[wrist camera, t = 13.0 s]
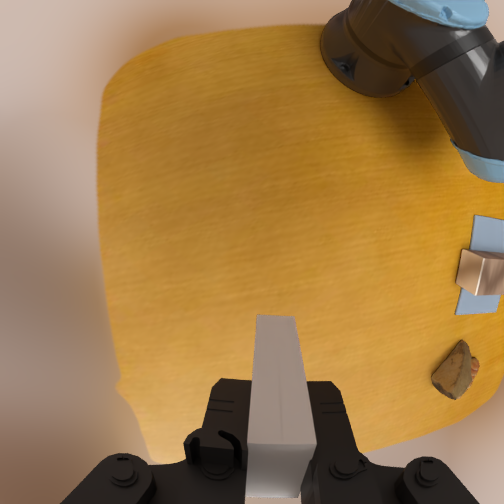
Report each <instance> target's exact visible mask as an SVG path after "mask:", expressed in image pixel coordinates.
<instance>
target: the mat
mask: <svg viewBox="0 0 504 504" xmlns="http://www.w3.org/2000/svg"><path fill="white" fill-rule="evenodd" d="M469 250H477V251H488V252H499V253H504V220H500V219H495V218H489V217H484V216H478V215H474V220H473V228H472V235H471V242H470V248H469ZM500 296H501V295H480V296H475V295H473V294H472V293H470V292H469V291H467V290H465V289H464V288H461V292H460V296H459V300H458V304H457V308H456V311H455V315H462V314H477V313H490V312H496V310H497V307H498V303H499V300H500Z"/></svg>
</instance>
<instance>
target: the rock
mask: <svg viewBox="0 0 504 504" xmlns="http://www.w3.org/2000/svg"><path fill="white" fill-rule="evenodd" d="M431 378H432V383H433V385H434V386H435V388H436V389H437V390H438V391H439V392H440V393H442V394H444V395H445V396H447V397H448V398H451V399H454V400H456V399H457V398H458V397H460V396H461V395H462V394H464V393H465V391H466V390H467V388H468V387H469V384H470V383H471V382H472V376H471V353H470V350H469V346H468V345H467V343H466V342H464V341H463V340H461V341H460V342H459V343H458V345H457V346H456V347H455V349H454V350H453V351H452V352H451V354H450V355H449V356H448V357H447V359H446V360H445V361H444V362H443V363H442V364H441V365H440V367H439V368H438V369H437V371H436V372H435V373H434V374H433V375H432V377H431Z"/></svg>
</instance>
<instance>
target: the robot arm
mask: <svg viewBox="0 0 504 504" xmlns="http://www.w3.org/2000/svg"><path fill="white" fill-rule="evenodd" d="M488 10H489V9H488V5H487V4H486V3H485V2H484V0H352V1H351V3H350V5H349V7H348V8H347V9H345V10H344V11H342V12H340V13H338V14H336V15H335V16H333V17H332V18H331V19H330V20H329V21H328V23H327V24H326V26H325V28H324V31H323V33H322V36H321V52H322V56H323V59H324V61H325V63H326V65H327V66H328V68H329V69H330V71H331V72H332V73H333V75H334V76H335V77H336V78H337V79H338V80H339V81H341V82H342V83H343V84H344V85H346V86H347V87H349V88H350V89H352V90H354V91H356V92H358V93H360V94H363V95H366V96H371V97H379V98H382V97H390V96H393V95H396V94H398V93H400V92H401V91H403V90H405V89H406V88H407V87H409V86H410V85H411V83H412V82H413V81H414V79H416V80H417V82H418V84H419V85H420V87H421V88H422V90H423V91H424V93H425V95H426V96H427V98H428V99H429V101H430V103H431V104H432V106H433V108H434V109H435V111H436V113H437V114H438V116H439V118H440V120H441V121H442V123H443V125H444V127H445V129H446V130H447V132H448V134H449V136H450V140H451V143H452V145H453V146H454V147H455V148H456V149H457V150H458V152H459V154H460V156H461V158H462V159H463V161H464V163H465V165H466V167H467V168H468V170H469V171H470V172H471V173H473V174H474V175H476V176H477V177H478V178H480V179H483V180H486V181H490V182H496V183H504V41H502V42H500V43H497V42H496V40H495V39H494V37H493V35H492V34H491V33H490V31H489V30H488V28H487V27H486V25H485V24H486V21H487V18H488V15H489V11H488ZM183 444H184V450H185V455H186V459H185V460H183V461H180V462H178V463H173V464H163V465H148V464H147V463H146V462H145V461H144V460H142V459H141V458H140V457H138V456H135V455H131V454H128V453H125V454H124V453H118V454H114V455H111V456H108V457H107V458H105V459H104V460H102V461H101V462H100V463H99V464H98V465H97V466H96V467H95V468H94V469H93V470H92V471H91V472H90V473H89V474H88V475H87V476H86V478H85V479H84V480H83V481H82V482H81V483H80V484H79V485H78V486H77V487H76V488H75V489H74V490H73V491H72V492H71V493H70V494H69V495H68V496H67V497H66V498H65V499H64V500H63V501H62V502H61V503H60V504H245V497H262V498H298V496H299V494H300V491H301V503H302V504H479V503H478V501H477V500H476V499H475V498H474V497H473V495H472V494H471V493H470V492H469V491H468V490H467V488H466V487H465V486H464V485H463V484H462V483H461V481H460V480H459V479H458V478H457V477H456V476H455V474H454V473H453V472H452V471H451V470H450V469H449V467H448V466H447V465H446V464H444V463H443V462H442V461H441V460H439V459H436V458H434V457H420V458H416V459H414V460H413V461H411V462H410V463H408V464H407V466H406V467H405V468H399V467H388V466H380V465H376V464H374V463H371V462H370V461H369V460H368V458H367V457H365V456H364V455H363V454H362V453H360V452H359V451H358V448H357V446H356V442H355V439H354V435H353V432H352V429H351V425H350V422H349V418H348V415H347V414H346V408H345V405H344V404H343V399H342V395H341V392H340V390H339V389H338V388H337V387H336V386H335V385H334V384H333V383H332V382H331V381H306V376H305V371H304V365H303V360H302V354H301V349H300V343H299V338H298V333H297V327H296V322H295V317H294V316H273V315H257V321H256V335H255V348H254V361H253V375H252V381H251V380H237V379H225V378H221V379H220V380H219V381H218V382H217V383H216V384H215V385H214V386H213V387H212V390H211V394H210V397H209V401H208V405H207V411H206V413H205V417H204V421H203V425H202V428H199V429H196V430H195V431H193V432H192V433H191V434H189V435H188V436H187V438H186V440H185V441H184V443H183Z"/></svg>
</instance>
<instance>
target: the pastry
mask: <svg viewBox="0 0 504 504" xmlns="http://www.w3.org/2000/svg"><path fill="white" fill-rule="evenodd" d="M478 369H479V361H478V360H477V359H476V358H472V359H471V376H472V382H473V380H474V377H475V376H476V374H477V371H478ZM472 382H471V383H470V384H469V387H470V386H471V385H472ZM469 387H468V388H469ZM468 388H467V390H468ZM467 390H466V391H467ZM461 396H462V395H461ZM461 396H460V397H458V398H457V399H459V398H461Z"/></svg>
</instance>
